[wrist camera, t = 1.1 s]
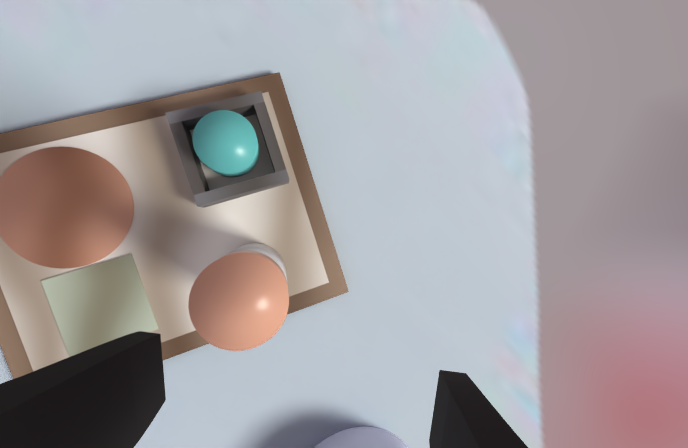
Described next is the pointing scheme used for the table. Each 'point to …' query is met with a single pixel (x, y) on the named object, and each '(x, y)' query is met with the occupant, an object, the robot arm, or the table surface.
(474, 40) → the table surface
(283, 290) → the capsule peg
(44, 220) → the beige base plate
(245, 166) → the button
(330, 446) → the wedge on round base
